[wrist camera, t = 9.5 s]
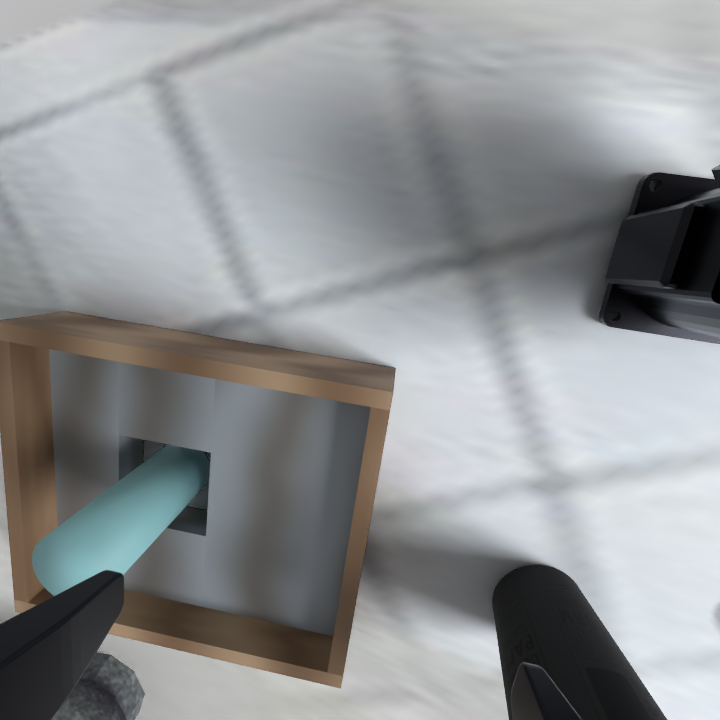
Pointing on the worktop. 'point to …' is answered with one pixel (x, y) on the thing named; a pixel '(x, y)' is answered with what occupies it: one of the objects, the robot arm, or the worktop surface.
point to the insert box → (226, 481)
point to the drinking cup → (566, 646)
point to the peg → (121, 520)
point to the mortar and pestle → (103, 693)
